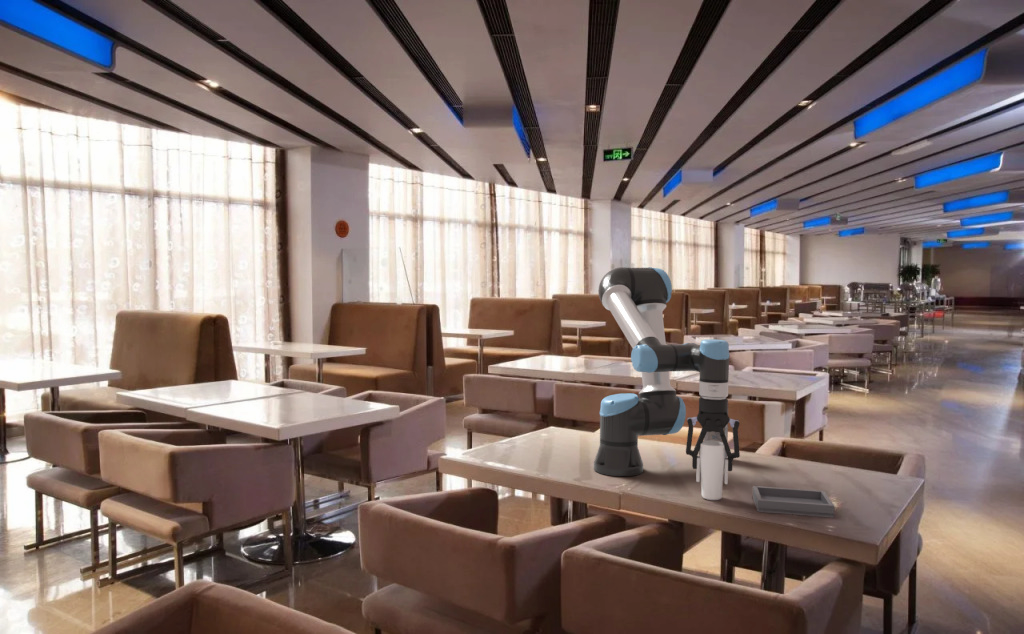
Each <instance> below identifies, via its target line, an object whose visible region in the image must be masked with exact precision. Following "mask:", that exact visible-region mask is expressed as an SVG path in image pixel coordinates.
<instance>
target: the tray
mask: <svg viewBox="0 0 1024 634" xmlns="http://www.w3.org/2000/svg"><path fill="white" fill-rule="evenodd" d="M752 498H753V502H754V504H755V507H756V508H755V509H756V510H757V512H758V513H767V514H768V513H770V514H783V515H792V514H793V515H796V516H805V515H806V516H807V515H808V516H807V517H818V518H819V517H821V518H832V519H833V518H835V505H834V503H833V502H832V500H831V499H830V497H829V496H828V494H827V493H826V492H825V490H814V489H801V488H800V489H799V488H789V487H788V488H787V487H772V486H762V485H761V486H759V485H758V486H757V485H753V486H752Z"/></svg>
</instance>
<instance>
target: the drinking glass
mask: <svg viewBox="0 0 1024 634" xmlns="http://www.w3.org/2000/svg"><path fill="white" fill-rule="evenodd" d="M698 456H699V458H700V487H701V489H700V490H701V497H702V498H703V499H705V500H708V501H719V500H721V499H722V496H723V484H724V483H723V482H724V465H725V448H724V445H723V442H719V441H704V440H703V443H702V444H701V446H700V450H699V453H698Z"/></svg>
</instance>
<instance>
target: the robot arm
mask: <svg viewBox="0 0 1024 634" xmlns="http://www.w3.org/2000/svg"><path fill="white" fill-rule="evenodd" d="M672 293H673V286H672V281H671V279H670V276H669V275H668V273H667V272H666V271H665V270H664V269H662V268H659V267H658V268H657V267H651V266H650V267H624V266H623V267H615V268H613V269H611V270H609V271H608V272H606V273H605V274H604V276H603V277H602V278H601V280H600V282H599V285H598V297H599V300H600V303H601V304H602V307H604V308H605V309H606V310H607V311H610V313H611V315H612V316H613V318H614V320H615V322H616V323H617V325H618V327H619V328H620V330H621V331H622V333H623V335H624V336H625V339H626V340H627V342H628V344H630V346H631V348H632V350H631V355H630V360H631V363H632V364H631V366H632V367H633V369H634V370H635V371H636V372H640V373H641V381H642V389H641V390H640V391H639V392H638V394H635V393H629V392H628V393H615V394H611V395H608V396H604V398H603V399H602V400H601V402H600V410H599V446H598V449H597V452H596V455H595V457H594V461H593V470H594V471H595V472H596V473H598V474H602V475H605V476H612V477H633V476H637V475H640V474H642V473H643V472H644V462H643V459H642V457H641V453H640V449H639V444H638V443H639V441H638V440H639V439H638V438H639V436H640V437H641V436H643V437H644V436H668V435H672V434H677V433H679V432H680V431H681V430H682V428H683V426H684V424H685V421H687V425H688V429H687V438H686V445H685V454H686V455H688V456H690V457H691V459H692V460H691V461H692V462H691V463H692V464H691V468H692V469H693V470H696V480H695V481H696V483H700V481H701V476H700V458H699V450H700V446H701V444H702V443H703V441H704V438H705V435H706V433H707V432H712V431H714V432H719V433H720V436H721V439H722V442H723V445H724V448H725V451H726V454H727V458H725V465H724V474H723V482H724V483H723V484H724V485H729V484H728V483H729V481H728V480H729V477H728V476H729V472H732V471H733V462H734V461H733V460H734V459H738V458H740V456H741V454H740V453H741V452H740V443H739V427H740V421H739V419H733V418H730V416H729V399H728V398H727V397H728V396H729V378H730V377H729V374H730V345H729V342H728V341H727V340H724V339H709V338H708V339H702V340H701V341H700V344H698V343H693V342H686V343H682V344H667V342H666V335H665V326H664V325H665V324H664V316H663V313H664V312H663V311H664V310H665V309H666V308H667V303H669V302H670V300H671V299H672ZM670 372H698V373H699V378H698V379H699V380H698V381H699V382H698V384H699V386H698V387H699V388H698V393H699V398H698V413H697V414H696V415H697V416H693V417H691V416H690V417H687V418H686V414H687V410H686V409H687V408H686V404H685V402H684V400H683V398H682V397H680V396H678V395H677V390H676V389H675V388H674V387H673V386H672V385H671V377H670ZM696 422H698V423H699V425H700V427H701V430H700V433H699V435H698V437H697V440H696V443H695V445H694V447H693V449H692V443H693V434H694V426H696V425H697V423H696ZM727 424H728V425H730V427H731V428H732V440H733V451H734V452H732V451H731V448H730V446H729V443H728V442H729V441H728V442H727V439H726V436H725V433H724V430H723V429H724V427H725V426H726V425H727Z"/></svg>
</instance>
